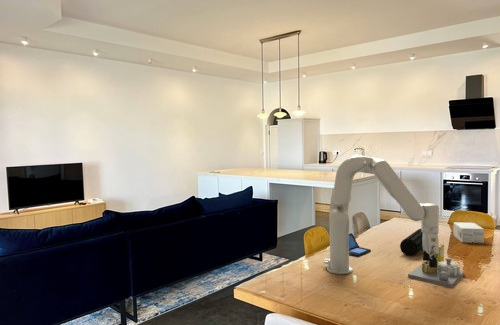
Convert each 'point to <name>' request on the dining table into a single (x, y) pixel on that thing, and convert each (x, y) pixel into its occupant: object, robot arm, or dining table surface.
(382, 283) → the dining table surface
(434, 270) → the brass gear
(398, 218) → the dining table surface
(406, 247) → the roller
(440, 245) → the supplement box
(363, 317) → the dining table surface
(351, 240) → the handheld game console
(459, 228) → the supplement box
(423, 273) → the gear board
